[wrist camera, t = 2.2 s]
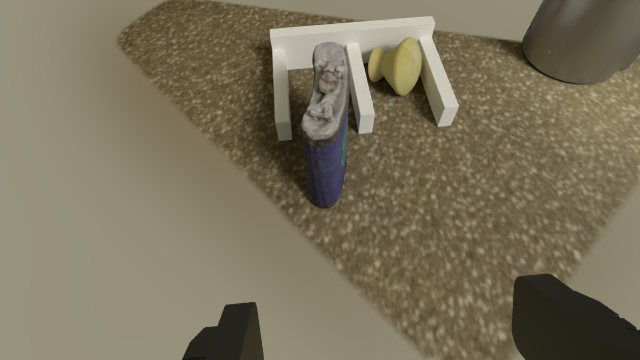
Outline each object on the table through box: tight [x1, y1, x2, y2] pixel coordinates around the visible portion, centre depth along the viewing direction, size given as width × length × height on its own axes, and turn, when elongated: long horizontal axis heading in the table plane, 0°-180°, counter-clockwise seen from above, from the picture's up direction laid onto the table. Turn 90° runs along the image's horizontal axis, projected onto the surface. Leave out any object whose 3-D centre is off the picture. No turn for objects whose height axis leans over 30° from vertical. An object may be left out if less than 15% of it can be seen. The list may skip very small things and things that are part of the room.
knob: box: [368, 37, 422, 96], centre depth 33 cm, size 5×5×5 cm
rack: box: [270, 16, 459, 141], centre depth 33 cm, size 16×10×4 cm, turn 95°
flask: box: [301, 42, 350, 210], centre depth 26 cm, size 9×3×11 cm, turn 175°
